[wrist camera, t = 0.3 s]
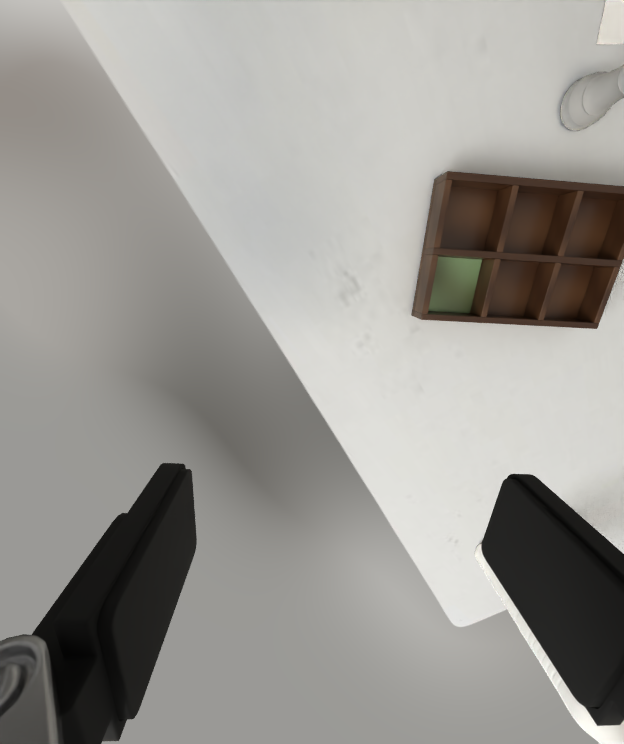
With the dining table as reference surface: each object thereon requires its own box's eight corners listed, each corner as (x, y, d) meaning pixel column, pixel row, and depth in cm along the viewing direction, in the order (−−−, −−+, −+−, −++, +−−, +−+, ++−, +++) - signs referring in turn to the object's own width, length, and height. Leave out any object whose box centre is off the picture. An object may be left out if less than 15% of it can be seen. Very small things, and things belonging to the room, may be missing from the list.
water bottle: (468, 546, 52) (610, 780, 28) (502, 529, 51) (679, 756, 27) (486, 575, 55) (631, 811, 31) (520, 560, 54) (695, 790, 30)
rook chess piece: (604, 78, 31) (704, 17, 23) (594, 130, 32) (685, 89, 25) (561, 81, 31) (647, 22, 23) (553, 134, 32) (632, 94, 25)
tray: (434, 179, 33) (447, 171, 30) (620, 195, 34) (650, 188, 32) (411, 315, 38) (420, 319, 35) (575, 324, 39) (597, 328, 36)
